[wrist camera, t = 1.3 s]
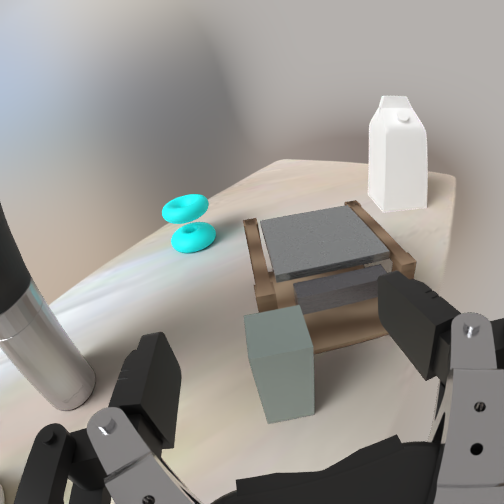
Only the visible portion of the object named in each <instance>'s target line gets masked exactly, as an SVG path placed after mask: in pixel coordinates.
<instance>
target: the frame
mask: <svg viewBox="0 0 504 504" xmlns="http://www.w3.org/2000/svg"><path fill="white" fill-rule="evenodd" d="M346 205H348V206H349V207H350V208H351V209H352V210H353V211H354V212H355V214H356V215H357V216H358V217H359V218H360V219H361V220H362V221H363V222H364V223H365V224H366V225H367V226H368V227H369V229H370V230H371V231H372V232H373V233H374V234H375V235H376V236H377V237H378V238H379V240H380V241H381V242H382V243H383V244H384V245H385V246H386V247H387V249H388V250H389V251H390V254H389V258H390V259H391V260H392V262H393V265H392V272H393V271H396V270H397V271H399V272H401V273H402V274H403V275H404V276H406V277H407V278H408V279H409V280H410V279H414V273H415V267H416V260H415V259H414V258H413V257H412V256H411V255H410V254H409V253H408V252H407V253H406V252H405V251H404V250H403V249H402V248H401V247H400V246H399V244H398V243H397V242H396V241H395V240H394V239H393V238H392V237H391V236H390V235H389V234H388V233H387V232H386V231H385V230H384V229H383V228H382V227H381V226H380V225H379V224H378V223H377V222H376V221H375V220H374V219H373V218H372V217H371V216H370V215H369V214H368V213H367V212H366V211H365V210H364V209H363V208H362V207H361V205H360V204H359V203H358V202H357V201H356V200H355V201H349V202H345V206H346ZM243 223H244V229H245V234H246V239H247V244H248V249H249V254H250V259H251V264H252V269H253V274H254V279H255V284H256V285H254V290H255V296H256V301H257V306H258V311H259V313H261V312H266V311H271V310H276V309H281V308H286V307H291V306H296V303H295V298H294V288H293V283H297V282H302V281H307V280H312V279H317V278H321V277H326V276H331V275H335V274H340V273H344V272H349V271H353V270H358V269H362V268H365V267H364V266H363V265H359V266H354V267H350V268H345V269H341V270H336V271H332V272H327V273H322V274H317V275H313V276H308V277H303V278H298V279H293V280H288V281H283V282H278V283H277V282H276V279H275V275H274V271H273V272H268V270H267V266H266V262H265V258H264V254H263V250H262V245H261V240H260V234H259V228H258V223H257V219H256V218H253V219H248V220H243ZM303 316H304V319H305V323H306V326H307V329H308V332H309V335H310V338H311V341H312V344H313V352H314V354H318V353H322V352H326V351H330V350H334V349H338V348H342V347H346V346H350V345H353V344H357V343H361V342H364V341H368V340H371V339H375V338H378V337H381V336H385V335H388V334H389V333H388V332H387V331H386V330H385V328H384V327H383V326H382V324H381V322H380V319H379V315H378V297H376V298H372V299H368V300H364V301H360V302H356V303H352V304H348V305H344V306H340V307H336V308H331V309H327V310H323V311H318V312H314V313H309V314H305V315H303Z"/></svg>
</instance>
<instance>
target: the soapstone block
mask: <svg viewBox="0 0 504 504" xmlns="http://www.w3.org/2000/svg"><path fill="white" fill-rule="evenodd" d="M244 323H245V332H246V341H247V349H248V358H249V362H250V366H251V369H252V373H253V376H254V379H255V383H256V386H257V389H258V393H259V396H260V399H261V402H262V406H263V409H264V412H265V415H266V419H267V422H268V424H270V423H276V422H281V421H286V420H291V419H296V418H301V417H306V416H310V415H314V352H313V344H312V341H311V338H310V335H309V332H308V329H307V326H306V323H305V319H304V316H303V313H302V310H301V307H300V305H296V306H291V307H286V308H281V309H276V310H271V311H266V312H261V313H256V314H250V315H245V316H244Z"/></svg>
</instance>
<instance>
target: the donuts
mask: <svg viewBox="0 0 504 504" xmlns="http://www.w3.org/2000/svg"><path fill="white" fill-rule="evenodd" d="M208 205H209V203H208V200H207V198H206V197H204V196H203V195H200V194H190V195H184V196H181V197H178V198H176V199H173V200H171V201H170V202H168V203H167V204H166V205H165V206H164V207H163V210H162V216H163V218H164V219H165V220H166V221H168V222H170V223H173V224H182V223H187V222H191V221H193V220H196V219H198V218H199V217H201V216H202V215H203V214H204V213H205V212H206V211H207V209H208ZM215 237H216V231H215V229H214V227H213V226H212V225H210V224H208V223H205V222H194V223H190V224H187V225H184V226H182V227H181V228H179V229H178V230H177V231H176V232H175V233H174V234H173V236H172V239H171V244H172V246H173V248H174V249H175V250H177V251H179V252H182V253H191V252H196V251H199V250H202V249H204V248H206V247H207V246H209V245H210V244H211V243H212V242H213V241H214V239H215Z"/></svg>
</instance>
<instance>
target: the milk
mask: <svg viewBox="0 0 504 504" xmlns="http://www.w3.org/2000/svg"><path fill="white" fill-rule="evenodd" d="M427 164H428V163H427V136H426V131H425V128H424V126H423V124H422V123H421V121H420V119H419V118H418V116H417V115H416V113H415V112H414V110H413V109H412V107H411V104H410V102H409V100H408V98H407V97H405V96H382V98H381V101H380V105H379V108H378V109H377V111H376V113H375V115H374V116H373V118H372V120H371V122H370V125H369V174H368V195H369V196H370V198H371V199H372V200H373V201H374V202H375V203H376V205H377V206H378V207H379V208H380V209H381V210H382V212H383V213H384V212H393V211H403V210H412V209H421V208H427V188H428V169H427V168H428V167H427Z"/></svg>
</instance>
